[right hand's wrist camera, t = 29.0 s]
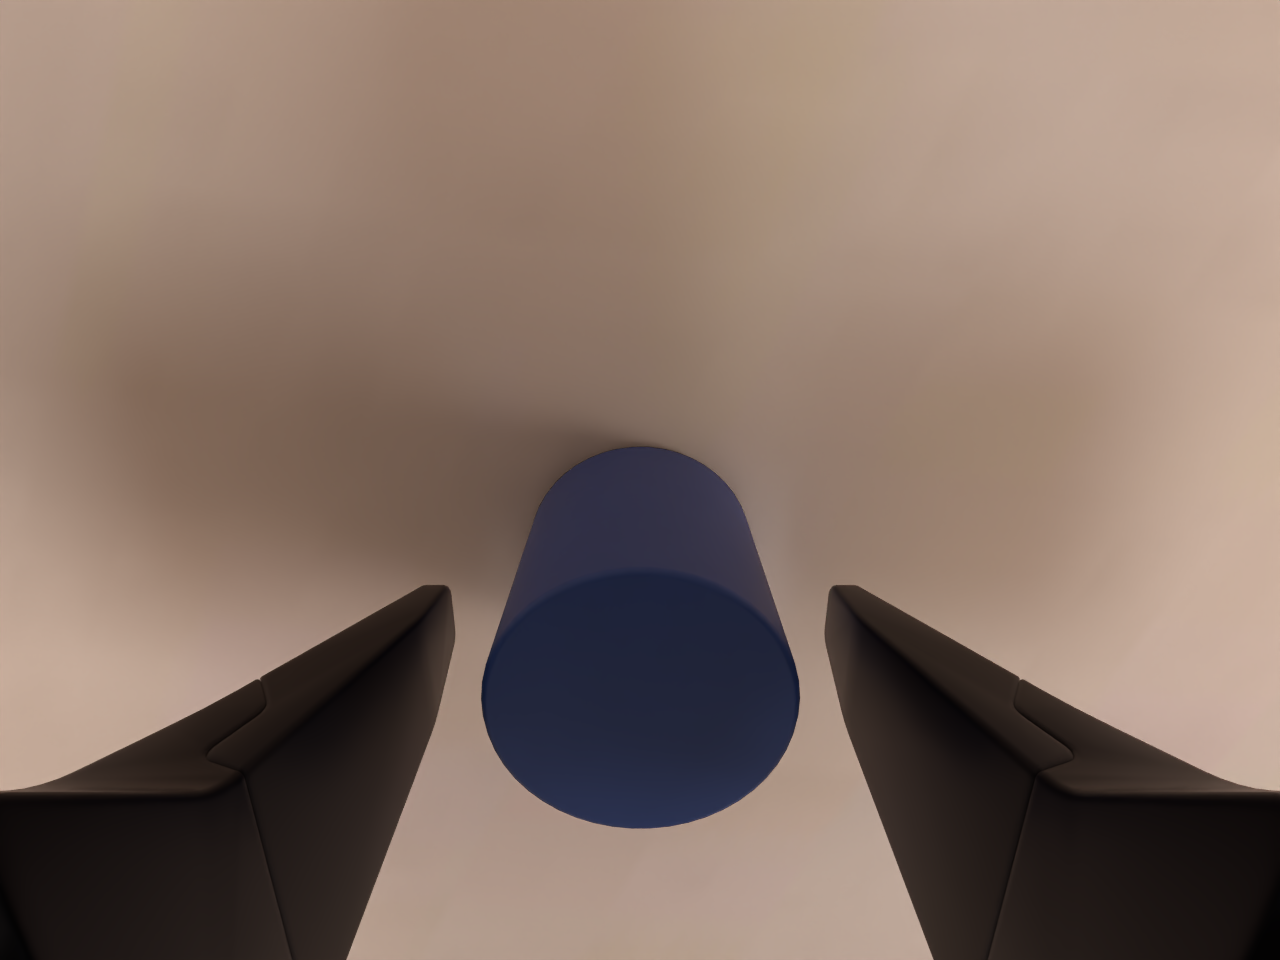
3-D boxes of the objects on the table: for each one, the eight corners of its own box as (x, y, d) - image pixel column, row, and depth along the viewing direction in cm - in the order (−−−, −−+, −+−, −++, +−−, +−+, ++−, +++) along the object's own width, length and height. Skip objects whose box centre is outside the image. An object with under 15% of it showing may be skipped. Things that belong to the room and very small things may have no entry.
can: (748, 437, 13) (804, 559, 8) (750, 634, 14) (798, 823, 10) (517, 452, 13) (455, 580, 8) (544, 646, 14) (503, 839, 10)
